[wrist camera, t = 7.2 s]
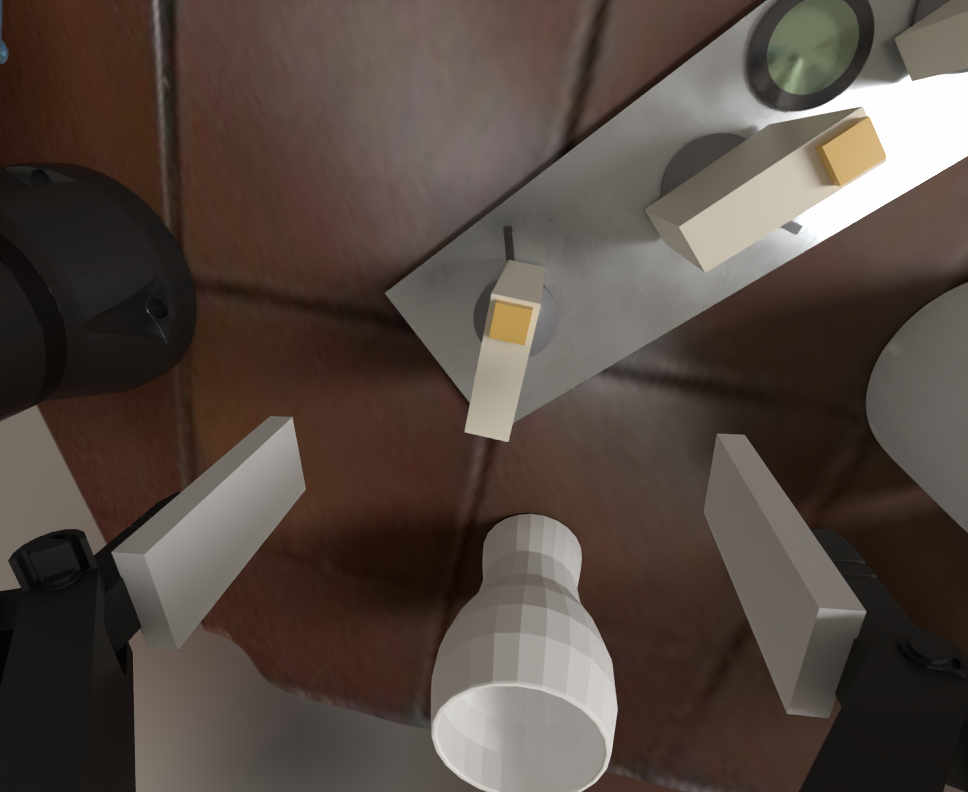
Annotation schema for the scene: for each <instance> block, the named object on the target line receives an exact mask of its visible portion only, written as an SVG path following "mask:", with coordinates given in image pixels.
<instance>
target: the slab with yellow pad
mask: <svg viewBox="0 0 968 792" xmlns="http://www.w3.org/2000/svg"><path fill="white" fill-rule="evenodd" d="M544 275H545V267H541V266H536V265H532V264H527V263H522V262H518V261H513V260H509V261H508V263H507V264H506V266H505V268H504V270H503V272H502V274H501V276H500V278H499V280H497V281H495V282H493V283H492V284H490V285H489V286H488V287H487V288H486V289H485V290H484V291H483V292H482V294H481V295H480V297H479V299H478V300H477V303H476V305H475V309H474V315H473V322H474V328H475V331H476V334H477V336H478V338H479V340H480V341H481V343H482V345H481V350H480V355H479V360H478V365H477V370H476V376H475V381H474V386H473V391H472V396H471V401H470V406H469V412H468V417H467V422H466V427H465V432H466V433H471V434H475V435H479V436H484V437H488V438H493V439H497V440H501V441H506V442H508V441H509V437H510V433H511V429H512V425H513V420H514V416H515V412H516V408H517V403H518V399H519V395H520V391H521V387H522V382H523V378H524V374H525V370H526V365H527V361H528V358H529V357H532V356H534V355H536V354H538V353H539V352H541V351H542V350H543V349H544V348H546V346H547V345H548V344H549V343H550V341H551V340H552V338H553V336H554V334H555V331H556V327H557V309H556V305H555V302H554V300H553V298H552V296H551V295H550V293H549V292H548V291H547V290H546V289H545V288H544V287H543V284H544Z"/></svg>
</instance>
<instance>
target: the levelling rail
mask: <svg viewBox="0 0 968 792" xmlns="http://www.w3.org/2000/svg"><path fill="white" fill-rule="evenodd" d="M919 1H920V0H766V1H765V2H764V3H762V4H761V5H760V6H758V7H757V8H756V9H755V10H753V11H752V12H751V13H749V14H748V15H747V16H745V17H744V18H743V19H741V20H740V21H739V22H738V23H736V24H735V25H734V26H732V27H731V28H730V29H728V30H727V31H726V32H725V33H723V34H722V35H721V36H719V37H718V38H717V39H715V40H714V41H713V42H712V43H710V44H709V45H708V46H706V47H705V48H704V49H702V50H701V51H700V52H698V53H697V54H696V55H695V56H693V57H692V58H691V59H689V60H688V61H687V62H685V63H684V64H683V65H682V66H680V67H679V68H678V69H676V70H675V71H674V72H672V73H671V74H670V75H668V76H667V77H666V78H665V79H663V80H662V81H661V82H659V83H658V84H657V85H655V86H654V87H653V88H652V89H650V90H649V91H648V92H646V93H645V94H644V95H642V96H641V97H640V98H638V99H637V100H636V101H635V102H633V103H632V104H631V105H629V106H628V107H627V108H625V109H624V110H623V111H622V112H620V113H619V114H618V115H616V116H615V117H614V118H612V119H611V120H610V121H608V122H607V123H606V124H605V125H603V126H602V127H601V128H599V129H598V130H597V131H595V132H594V133H593V134H592V135H590V136H589V137H588V138H586V139H585V140H584V141H582V142H581V143H580V144H578V145H577V146H576V147H575V148H573V149H572V150H571V151H569V152H568V153H567V154H565V155H564V156H563V157H562V158H560V159H559V160H558V161H556V162H555V163H554V164H552V165H551V166H550V167H549V168H547V169H546V170H545V171H543V172H542V173H541V174H539V175H538V176H537V177H535V178H534V179H533V180H532V181H530V182H529V183H528V184H526V185H525V186H524V187H522V188H521V189H520V190H519V191H517V192H516V193H515V194H513V195H512V196H511V197H509V198H508V199H507V200H505V201H504V202H503V203H502V204H500V205H499V206H498V207H496V208H495V209H494V210H492V211H491V212H490V213H489V214H487V215H486V216H485V217H483V218H482V219H481V220H479V221H478V222H477V223H475V224H474V225H473V226H472V227H470V228H469V229H468V230H466V231H465V232H464V233H462V234H461V235H460V236H459V237H457V238H456V239H455V240H453V241H452V242H451V243H449V244H448V245H447V246H445V247H444V248H443V249H442V250H440V251H439V252H438V253H436V254H435V255H434V256H432V257H431V258H430V259H429V260H427V261H426V262H425V263H423V264H422V265H421V266H419V267H418V268H417V269H415V270H414V271H413V272H412V273H410V274H409V275H408V276H406V277H405V278H404V279H402V280H401V281H400V282H399V283H397V284H396V285H395V286H393V287H392V288H391V289H389V290H388V291H387V292H385V294H386V296H387V297H388V298H389V299H390V301H391V302H392V303H393V305H394V306H395V307H396V308H397V310H398V311H399V312H400V314H401V315H402V316H403V317H404V319H405V320H406V321H407V323H408V324H409V325H410V327H411V328H412V329H413V330H414V332H415V333H416V334H417V336H418V337H419V338H420V339H421V341H422V342H423V343H424V345H425V346H426V347H427V348H428V350H429V351H430V352H431V354H432V355H433V356H434V357H435V359H436V360H437V361H438V363H439V364H440V365H441V367H442V368H443V369H444V370H445V372H446V373H447V374H448V376H449V377H450V378H451V379H452V381H453V382H454V383H455V385H456V386H457V387H458V388H459V390H460V391H461V392H462V394H463V395H464V396H465V397H466V399H467V400H468V401H469V403H470V401H471V396H472V391H473V386H474V381H475V376H476V370H477V365H478V360H479V355H480V350H481V345H482V343H481V341H480V340H479V338H478V336H477V334H476V331H475V328H474V322H473V315H474V309H475V305H476V303H477V300H478V299H479V297H480V295H481V294H482V292H483V291H484V290H485V289H486V288H487V287H488V286H489V285H490V284H492V283H493V282H495V281H497V280H499V278H500V276H501V274H502V272H503V270H504V268H505V266H506V264H507V263H508V261H509V260H513V261H518V262H522V263H527V264H532V265H536V266H541V267H545V275H544V284H543V287H544V288H545V289H546V290H547V291H548V292H549V293H550V295H551V296H552V298H553V300H554V302H555V305H556V309H557V327H556V331H555V334H554V336H553V338H552V340H551V341H550V343H549V344H548V345H547V346H546V348H544V349H543V350H542V351H541V352H539V353H538V354H536V355H534V356H532V357H529V358H528V361H527V365H526V370H525V374H524V378H523V382H522V387H521V391H520V395H519V399H518V403H517V408H516V412H515V416H514V420H513V423H514V422H516V421H518V420H519V419H521V418H523V417H524V416H526V415H528V414H530V413H531V412H533V411H535V410H536V409H538V408H540V407H541V406H543V405H545V404H547V403H548V402H550V401H552V400H553V399H555V398H557V397H558V396H560V395H562V394H563V393H565V392H567V391H569V390H570V389H572V388H574V387H575V386H577V385H579V384H580V383H582V382H584V381H586V380H587V379H589V378H591V377H592V376H594V375H596V374H597V373H599V372H601V371H603V370H604V369H606V368H608V367H609V366H611V365H613V364H614V363H616V362H618V361H619V360H621V359H623V358H625V357H626V356H628V355H630V354H631V353H633V352H635V351H636V350H638V349H640V348H642V347H643V346H645V345H647V344H648V343H650V342H652V341H653V340H655V339H657V338H659V337H660V336H662V335H664V334H665V333H667V332H669V331H670V330H672V329H674V328H676V327H677V326H679V325H681V324H682V323H684V322H686V321H687V320H689V319H691V318H692V317H694V316H696V315H698V314H699V313H701V312H703V311H704V310H706V309H708V308H709V307H711V306H713V305H715V304H716V303H718V302H720V301H721V300H723V299H725V298H726V297H728V296H730V295H732V294H733V293H735V292H737V291H738V290H740V289H742V288H743V287H745V286H747V285H748V284H750V283H752V282H754V281H755V280H757V279H759V278H760V277H762V276H764V275H765V274H767V273H769V272H771V271H772V270H774V269H776V268H777V267H779V266H781V265H782V264H784V263H786V262H788V261H789V260H791V259H793V258H794V257H796V256H798V255H799V254H801V253H803V252H804V251H806V250H808V249H810V248H811V247H813V246H815V245H816V244H818V243H820V242H821V241H823V240H825V239H827V238H828V237H830V236H832V235H833V234H835V233H837V232H838V231H840V230H842V229H844V228H845V227H847V226H849V225H850V224H852V223H854V222H855V221H857V220H859V219H861V218H862V217H864V216H866V215H867V214H869V213H871V212H872V211H874V210H876V209H877V208H879V207H881V206H883V205H884V204H886V203H888V202H889V201H891V200H893V199H894V198H896V197H898V196H900V195H901V194H903V193H905V192H906V191H908V190H910V189H911V188H913V187H915V186H917V185H918V184H920V183H922V182H923V181H925V180H927V179H928V178H930V177H932V176H933V175H935V174H937V173H939V172H940V171H942V170H944V169H945V168H947V167H949V166H950V165H952V164H954V163H956V162H957V161H959V160H961V159H962V158H964V157H966V156H967V155H968V73H961V74H951V73H947V74H942V75H938V76H934V77H930V78H926V79H921V80H917V81H913V82H912V81H911V78H910V76H909V73H908V71H907V68H906V66H905V63H904V61H903V59H902V56H901V54H900V51H899V49H898V46H897V44H896V41H895V39H894V38H896V37H897V36H899V35H900V34H902V33H903V32H905V31H906V30H907V29H909V28H910V27H912V26H913V25H914V19H915V14H916V10H917V7H918V4H919ZM860 106H863V107H864V110H865V112H866V114H867V116H870V118H871V120H872V123H873V125H874V127H875V130H876V132H877V134H878V136H879V139H880V141H881V143H882V145H883V148H884V150H885V152H886V155H887V158H886V160H887V162H885V163H884V164H882V165H880V166H879V167H877V168H875V169H874V170H872V171H871V172H869V173H867V174H866V175H864V176H862V177H861V178H859V179H858V180H856V181H854V182H853V183H851V184H849V185H848V186H846V187H844V188H843V189H841V190H840V191H838V192H836V193H835V194H833V195H831V196H830V197H828V198H827V199H825V200H823V201H822V202H820V203H818V204H817V205H815V206H814V207H812V208H810V209H809V210H807V211H805V212H804V213H802V214H801V215H799V216H797V217H796V218H794V219H792V220H791V221H789V222H788V223H786V224H784V225H783V226H781V227H779V228H778V229H776V230H774V231H773V232H771V233H770V234H768V235H766V236H765V237H763V238H761V239H760V240H758V241H757V242H755V243H753V244H752V245H750V246H748V247H747V248H745V249H744V250H742V251H740V252H739V253H737V254H735V255H734V256H732V257H731V258H729V259H727V260H726V261H724V262H722V263H721V264H719V265H717V266H716V267H714V268H713V269H711V270H709V271H708V272H706V273H705V272H703V271H702V270H701V269H699V268H698V267H696V266H695V265H694V264H692V263H691V262H690V261H688V260H687V259H685V258H684V257H683V256H681V255H680V254H679V253H677V252H676V251H674V250H673V249H672V248H670V247H669V246H667V245H666V244H665V243H664V242H663V240H662V238H661V237H660V235H659V233H658V232H657V230H656V228H655V227H654V225H653V223H652V221H651V220H650V218H649V216H648V215H647V213H646V211H645V209H646V208H648V207H649V206H651V205H652V204H653V203H655V202H656V201H658V200H659V199H661V198H662V184H663V179H664V176H665V173H666V171H667V169H668V167H669V165H670V163H671V161H672V160H673V159H674V157H675V156H676V155H677V154H678V153H679V151H680V150H681V149H682V148H684V147H685V146H686V145H687V144H689V143H690V142H692V141H694V140H696V139H698V138H700V137H702V136H706V135H709V134H714V133H732V134H736V135H739V136H742V137H744V138H745V139H748V138H750V137H751V136H753V135H754V134H756V133H757V132H759V131H760V130H761V129H763V128H764V127H766V126H767V125H769V124H774V123H779V122H784V121H789V120H794V119H799V118H804V117H809V116H814V115H819V114H824V113H829V112H835V111H840V110H845V109H850V108H855V107H860Z"/></svg>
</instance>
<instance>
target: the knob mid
mask: <svg viewBox="0 0 968 792" xmlns="http://www.w3.org/2000/svg"><path fill="white" fill-rule="evenodd" d="M886 158H887V155H886V152H885V150H884V148H883V145H882V143H881V141H880V139H879V136H878V134H877V132H876V130H875V127H874V125H873V123H872V120H871V118H870V116H867V114H866V112H865V110H864V107H863V106H860V107H855V108H850V109H845V110H840V111H835V112H829V113H824V114H819V115H814V116H809V117H804V118H799V119H794V120H789V121H784V122H779V123H774V124H769V125H767V126H766V127H764V128H763V129H761V130H760V131H759V132H757V133H756V134H754V135H753V136H751V137H750V138H748V139H745V138H744V137H742V136H739V135H736V134H732V133H714V134H709V135H706V136H702V137H700V138H698V139H696V140H694V141H692V142H690V143H689V144H687V145H686V146H685V147H684V148H682V149H681V150H680V151H679V153H678V154H677V155H676V156H675V157H674V159H673V160H672V161H671V163H670V165H669V167H668V169H667V171H666V173H665V176H664V179H663V184H662V198H661V199H659V200H658V201H656V202H655V203H653V204H652V205H651V206H649V207H648V208H646V209H645V211H646V213H647V215H648V216H649V218H650V220H651V221H652V223H653V225H654V227H655V228H656V230H657V232H658V233H659V235H660V237H661V238H662V240H663V242H664V243H665V244H666V245H667V246H669V247H670V248H672V249H673V250H674V251H676V252H677V253H679V254H680V255H681V256H683V257H684V258H685V259H687V260H688V261H690V262H691V263H692V264H694V265H695V266H696V267H698V268H699V269H701V270H702V271H703V272H705V273H706V272H708V271H709V270H711V269H713V268H714V267H716V266H717V265H719V264H721V263H722V262H724V261H726V260H727V259H729V258H731V257H732V256H734V255H735V254H737V253H739V252H740V251H742V250H744V249H745V248H747V247H748V246H750V245H752V244H753V243H755V242H757V241H758V240H760V239H761V238H763V237H765V236H766V235H768V234H770V233H771V232H773V231H774V230H776V229H778V228H779V227H781V226H783V225H784V224H786V223H788V222H789V221H791V220H792V219H794V218H796V217H797V216H799V215H801V214H802V213H804V212H805V211H807V210H809V209H810V208H812V207H814V206H815V205H817V204H818V203H820V202H822V201H823V200H825V199H827V198H828V197H830V196H831V195H833V194H835V193H836V192H838V191H840V190H841V189H843V188H844V187H846V186H848V185H849V184H851V183H853V182H854V181H856V180H858V179H859V178H861V177H862V176H864V175H866V174H867V173H869V172H871V171H872V170H874V169H875V168H877V167H879V166H880V165H882V164H884V163H885V162H887V160H886Z"/></svg>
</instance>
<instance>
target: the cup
mask: <svg viewBox="0 0 968 792" xmlns="http://www.w3.org/2000/svg"><path fill="white" fill-rule="evenodd" d="M581 562H582V554H581V547H580V544H579V542H578V540H577V538H576V536H575V535H574V534H573V533H572V532H571V531H570V530H569V529H568V528H567V527H566V526H564V525H563V524H561V523H560V522H558V521H557V520H554V519H551V518H549V517H546V516H542V515H535V514H523V515H516V516H513V517H509V518H506V519H504V520H503V521H501V522H499V523H498V524H496V525H495V526H494V527H493V528H492V529H491V530H490V531H489V533H488V534H487V537H486V539H485V541H484V546H483V562H482V565H483V582H482V585H481V587H480V590H479V593H477V594H476V595H475V596H474V597H473V598H472V599H471V600H470V601H469V602H468V603H467V604H466V605H465V606H464V607H463V608H462V609H461V611H460V612H459V614H458V615H457V617H456V619H455V620H454V622H453V623H452V625H451V626H450V628H449V630H448V631H447V633H446V635H445V637H444V639H443V641H442V643H441V645H440V648H439V651H438V655H437V659H436V663H435V667H434V671H433V675H432V686H431V736H432V739H433V742H434V745H435V749H436V752H437V753H438V755H439V756H440V757H441V759H442V760H443V762H444V763H445V765H446V766H447V767H448V768H450V769H451V770H452V771H453V772H454V773H455V774H456V775H458V776H459V777H460V778H461V779H463V780H465V781H466V782H468V783H470V784H472V785H474V786H475V787H477V788H479V789H481V790H484V791H487V792H582V791H583V790H585V789H586V788H588V787H589V786H591V785H592V784H594V783H595V782H597V780H598V779H599V778H600V777H601V775H602V774H603V773H604V772H605V770H606V769H607V767H608V763H609V760H610V756H611V753H612V746H613V738H614V731H615V724H616V717H617V710H618V709H617V700H616V692H615V683H614V675H613V666H612V660H611V658H610V655H609V653H608V651H607V649H606V647H605V644H604V642H603V640H602V638H601V635H600V633H599V631H598V629H597V627H596V625H595V623H594V621H593V619H592V617H591V616H590V615H589V614H588V612H587V611H586V610H585V609H584V607H583V606H582V605H581V604H580V600H579V595H578V591H577V587H578V581H579V576H580V571H581Z"/></svg>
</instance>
